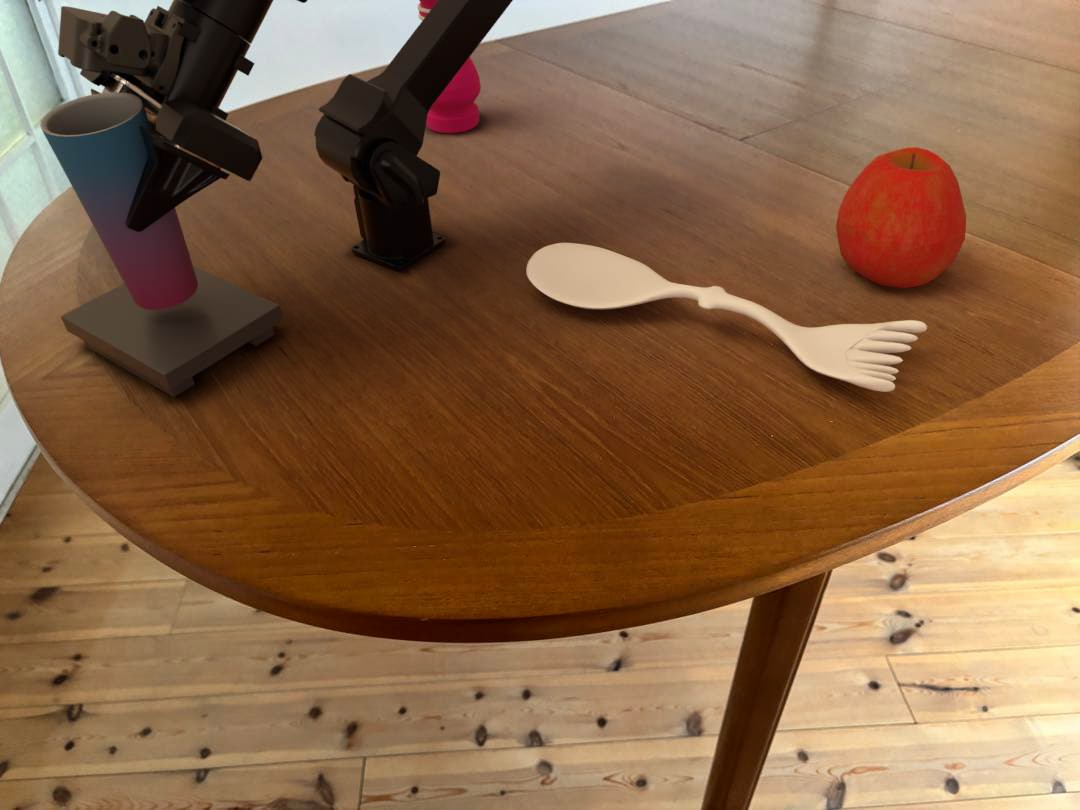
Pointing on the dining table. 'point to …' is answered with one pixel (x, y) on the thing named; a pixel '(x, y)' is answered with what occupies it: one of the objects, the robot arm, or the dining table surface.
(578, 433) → the dining table surface
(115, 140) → the cup
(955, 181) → the apple
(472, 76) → the pepper mill
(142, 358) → the grey footed tile
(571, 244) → the spoon
